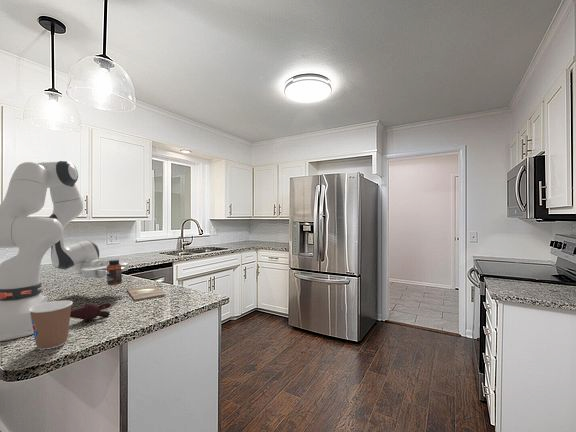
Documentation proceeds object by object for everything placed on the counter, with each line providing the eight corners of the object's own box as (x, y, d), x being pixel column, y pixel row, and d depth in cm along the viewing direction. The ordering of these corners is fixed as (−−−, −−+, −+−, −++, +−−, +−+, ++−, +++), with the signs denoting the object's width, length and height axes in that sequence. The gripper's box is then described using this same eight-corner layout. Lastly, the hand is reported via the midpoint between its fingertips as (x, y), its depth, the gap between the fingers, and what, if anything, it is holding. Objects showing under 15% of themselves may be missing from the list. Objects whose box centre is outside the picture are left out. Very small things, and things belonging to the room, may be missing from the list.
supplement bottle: (124, 282, 136) (123, 258, 136) (118, 285, 131) (118, 260, 130) (110, 282, 136) (110, 259, 135) (104, 285, 130) (104, 261, 130)
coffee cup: (37, 341, 89) (36, 303, 89) (77, 334, 93) (76, 298, 93) (23, 356, 79) (22, 313, 79) (68, 348, 84) (67, 308, 84)
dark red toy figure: (62, 311, 97) (112, 305, 107) (62, 301, 103) (110, 296, 112) (60, 329, 98) (110, 322, 108) (60, 318, 104) (108, 312, 113)
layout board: (164, 295, 136) (164, 293, 136) (134, 301, 128) (134, 299, 128) (154, 286, 154) (154, 284, 154) (127, 290, 146) (127, 289, 146)
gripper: (74, 266, 129) (91, 268, 123) (118, 259, 148) (135, 261, 142) (74, 279, 129) (92, 283, 123) (118, 271, 148) (135, 273, 142)
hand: (115, 271), depth 133 cm, fingers closed on supplement bottle, 6 cm apart
